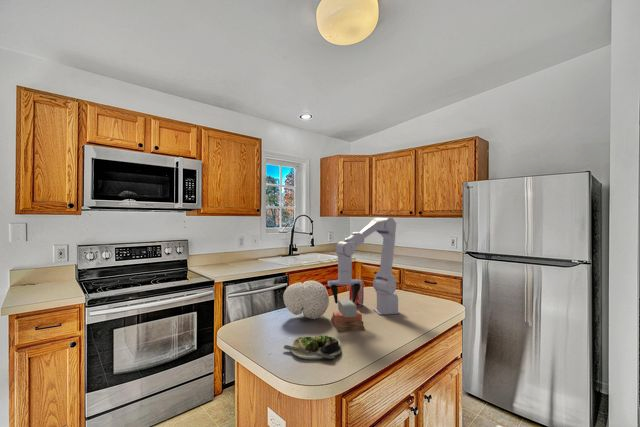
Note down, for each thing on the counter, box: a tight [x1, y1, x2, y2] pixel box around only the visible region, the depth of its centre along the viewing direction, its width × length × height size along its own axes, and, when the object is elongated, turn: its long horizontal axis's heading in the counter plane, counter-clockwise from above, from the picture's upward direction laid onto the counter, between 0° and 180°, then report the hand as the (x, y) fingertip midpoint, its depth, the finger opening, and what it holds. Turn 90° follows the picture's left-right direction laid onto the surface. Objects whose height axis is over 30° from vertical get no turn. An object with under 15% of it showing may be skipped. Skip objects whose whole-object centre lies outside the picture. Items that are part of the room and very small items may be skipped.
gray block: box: [337, 298, 358, 317], centre depth 125 cm, size 10×5×4 cm, turn 11°
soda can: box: [348, 282, 365, 308], centre depth 151 cm, size 7×7×12 cm
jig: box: [330, 315, 366, 332], centre depth 125 cm, size 11×12×2 cm
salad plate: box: [283, 334, 342, 361], centre depth 102 cm, size 19×18×5 cm
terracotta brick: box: [332, 310, 363, 326], centre depth 125 cm, size 11×5×4 cm, turn 100°
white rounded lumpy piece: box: [282, 279, 330, 320], centre depth 132 cm, size 20×18×16 cm
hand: (345, 302), depth 128 cm, fingers open, 7 cm apart
